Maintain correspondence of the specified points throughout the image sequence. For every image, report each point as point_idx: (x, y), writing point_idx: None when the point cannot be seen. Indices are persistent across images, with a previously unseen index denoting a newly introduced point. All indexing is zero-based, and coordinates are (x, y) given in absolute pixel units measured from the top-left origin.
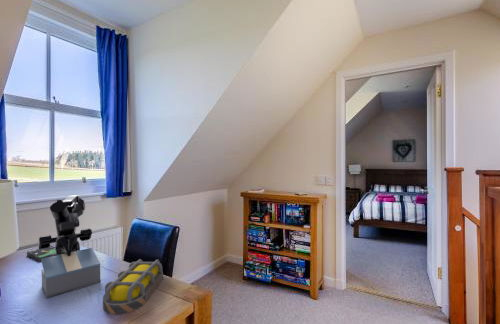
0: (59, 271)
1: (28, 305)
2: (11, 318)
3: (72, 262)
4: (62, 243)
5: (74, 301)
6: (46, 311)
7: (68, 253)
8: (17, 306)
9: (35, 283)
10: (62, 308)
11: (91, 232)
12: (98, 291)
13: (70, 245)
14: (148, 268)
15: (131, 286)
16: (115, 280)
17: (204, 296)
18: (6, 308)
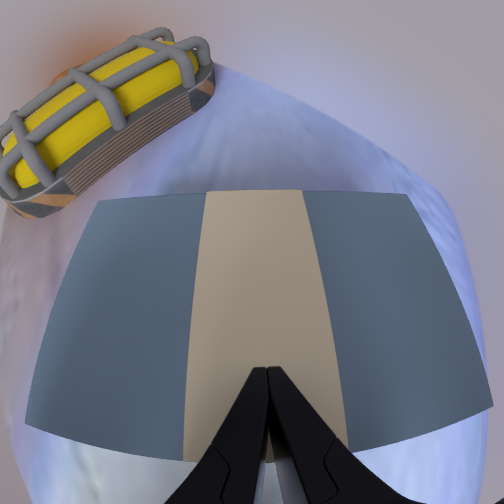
0: (347, 209)
1: None
2: (435, 192)
3: (253, 267)
4: (394, 502)
5: (272, 163)
6: (354, 162)
7: (278, 376)
8: (444, 261)
9: (402, 467)
10: (310, 148)
11: None
12: (181, 180)
13: (236, 464)
14: (56, 82)
15: (156, 28)
16: (162, 50)
17: (68, 69)
18: (467, 270)
